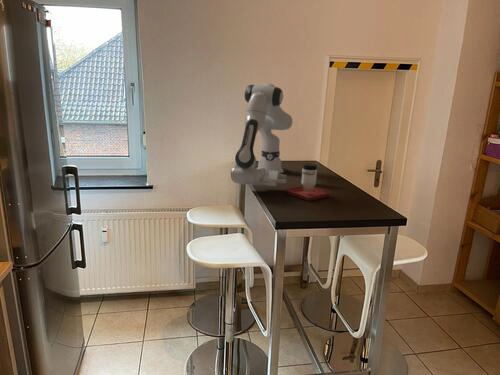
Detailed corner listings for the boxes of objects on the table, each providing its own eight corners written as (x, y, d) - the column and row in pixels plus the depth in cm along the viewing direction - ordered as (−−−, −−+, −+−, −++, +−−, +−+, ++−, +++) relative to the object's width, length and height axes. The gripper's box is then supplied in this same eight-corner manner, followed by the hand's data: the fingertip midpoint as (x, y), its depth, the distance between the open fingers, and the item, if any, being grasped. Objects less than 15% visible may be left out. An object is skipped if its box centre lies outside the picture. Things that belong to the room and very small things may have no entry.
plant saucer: (283, 194, 211) (284, 188, 210) (307, 189, 222) (307, 184, 221) (307, 203, 198) (308, 197, 197) (331, 198, 208) (332, 192, 207)
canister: (302, 188, 212) (303, 170, 210) (314, 188, 211) (315, 170, 209) (302, 191, 206) (303, 173, 204) (314, 192, 205) (315, 173, 203)
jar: (307, 186, 227) (309, 166, 224) (298, 183, 233) (299, 163, 230) (318, 185, 232) (320, 165, 228) (309, 181, 238) (311, 162, 235)
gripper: (259, 176, 199) (286, 178, 198) (262, 167, 219) (287, 169, 217) (258, 188, 201) (285, 189, 199) (261, 178, 220) (286, 180, 219)
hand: (286, 179), depth 209 cm, fingers open, 8 cm apart
